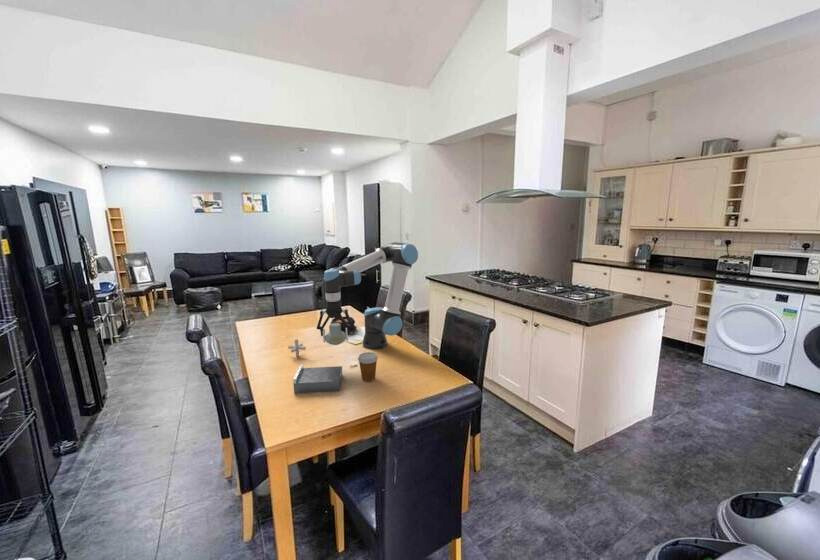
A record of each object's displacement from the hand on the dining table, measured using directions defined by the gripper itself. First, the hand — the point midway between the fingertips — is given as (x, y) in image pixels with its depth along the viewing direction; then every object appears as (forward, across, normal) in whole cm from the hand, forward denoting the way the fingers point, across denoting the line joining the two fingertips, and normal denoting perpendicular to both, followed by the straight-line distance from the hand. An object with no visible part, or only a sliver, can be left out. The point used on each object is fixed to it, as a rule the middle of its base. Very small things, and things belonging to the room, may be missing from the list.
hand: (335, 341), depth 181 cm
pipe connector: (+15, -24, +18) cm, 33 cm away
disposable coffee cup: (+15, +17, -15) cm, 27 cm away
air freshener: (+1, 0, 0) cm, 1 cm away
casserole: (+15, -2, +60) cm, 62 cm away
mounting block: (+14, -6, -18) cm, 24 cm away
